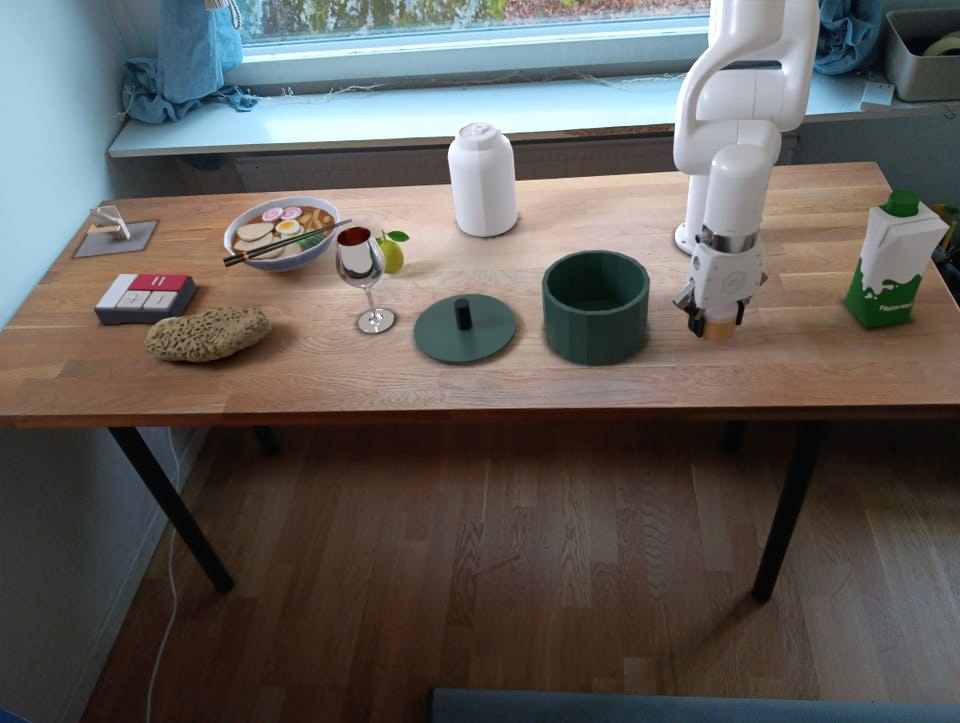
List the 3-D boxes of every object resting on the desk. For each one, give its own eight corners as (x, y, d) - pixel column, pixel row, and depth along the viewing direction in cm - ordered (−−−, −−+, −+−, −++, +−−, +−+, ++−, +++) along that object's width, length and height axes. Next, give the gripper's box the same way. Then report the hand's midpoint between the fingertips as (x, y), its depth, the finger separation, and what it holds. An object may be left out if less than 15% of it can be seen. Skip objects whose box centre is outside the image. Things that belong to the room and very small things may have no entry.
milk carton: (885, 290, 121) (923, 184, 107) (917, 324, 114) (963, 215, 101) (835, 299, 120) (867, 194, 107) (864, 334, 114) (903, 226, 100)
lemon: (415, 268, 139) (407, 223, 132) (399, 285, 136) (389, 240, 129) (387, 260, 142) (377, 216, 135) (370, 277, 138) (359, 233, 131)
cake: (720, 312, 118) (725, 288, 114) (741, 335, 114) (746, 311, 110) (687, 322, 117) (690, 299, 113) (706, 346, 113) (710, 322, 109)
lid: (422, 300, 132) (416, 272, 127) (518, 297, 129) (516, 269, 125) (407, 367, 119) (401, 339, 115) (514, 365, 117) (511, 337, 112)
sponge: (152, 375, 126) (245, 368, 118) (131, 337, 122) (225, 326, 115) (197, 337, 136) (284, 328, 129) (178, 300, 133) (267, 289, 125)
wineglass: (362, 342, 125) (338, 257, 112) (346, 317, 130) (321, 233, 118) (406, 325, 127) (386, 239, 115) (388, 301, 132) (368, 216, 120)
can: (469, 202, 154) (458, 112, 141) (525, 207, 151) (519, 116, 137) (448, 234, 146) (434, 143, 132) (507, 241, 142) (498, 147, 129)
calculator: (167, 308, 131) (90, 306, 133) (176, 326, 134) (100, 324, 136) (191, 272, 139) (117, 270, 141) (198, 289, 142) (126, 288, 144)
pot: (545, 301, 128) (542, 251, 121) (642, 298, 126) (645, 247, 118) (543, 366, 116) (540, 316, 109) (650, 364, 114) (655, 313, 107)
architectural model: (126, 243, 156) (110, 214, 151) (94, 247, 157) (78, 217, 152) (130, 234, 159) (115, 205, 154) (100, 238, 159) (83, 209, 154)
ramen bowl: (334, 213, 157) (325, 179, 151) (368, 265, 141) (359, 230, 136) (220, 250, 151) (206, 216, 145) (243, 309, 135) (228, 274, 129)
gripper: (688, 263, 98) (676, 357, 111) (800, 230, 101) (776, 325, 113) (661, 234, 103) (653, 326, 116) (769, 203, 106) (749, 297, 119)
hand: (714, 325), depth 115 cm, fingers closed on cake, 6 cm apart
